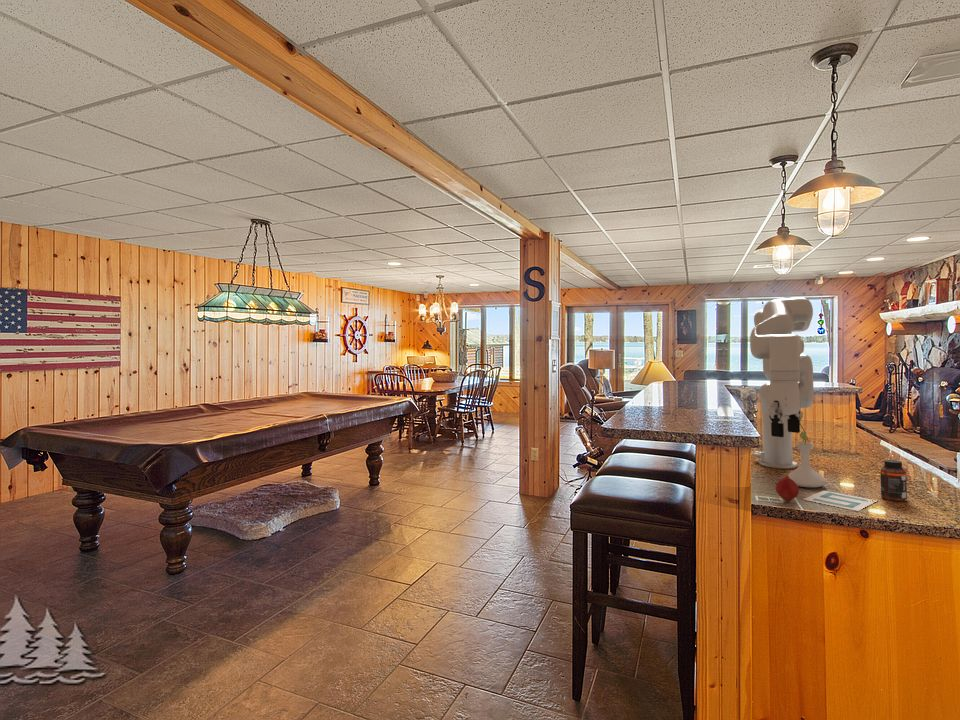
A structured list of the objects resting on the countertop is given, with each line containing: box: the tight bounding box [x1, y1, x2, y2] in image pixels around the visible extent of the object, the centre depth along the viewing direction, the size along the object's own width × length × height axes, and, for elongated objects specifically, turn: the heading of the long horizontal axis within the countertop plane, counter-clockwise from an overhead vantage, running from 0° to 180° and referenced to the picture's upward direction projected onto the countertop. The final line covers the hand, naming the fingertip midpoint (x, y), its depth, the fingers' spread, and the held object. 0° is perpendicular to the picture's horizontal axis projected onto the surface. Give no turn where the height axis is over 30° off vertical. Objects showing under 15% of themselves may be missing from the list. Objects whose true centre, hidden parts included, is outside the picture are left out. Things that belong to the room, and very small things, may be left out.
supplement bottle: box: [879, 459, 908, 502], centre depth 147 cm, size 6×6×11 cm
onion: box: [775, 474, 800, 503], centre depth 148 cm, size 6×6×8 cm
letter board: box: [802, 490, 878, 512], centre depth 147 cm, size 14×14×1 cm
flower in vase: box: [787, 410, 828, 488], centre depth 163 cm, size 13×11×25 cm
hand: (785, 434), depth 148 cm, fingers open, 9 cm apart
